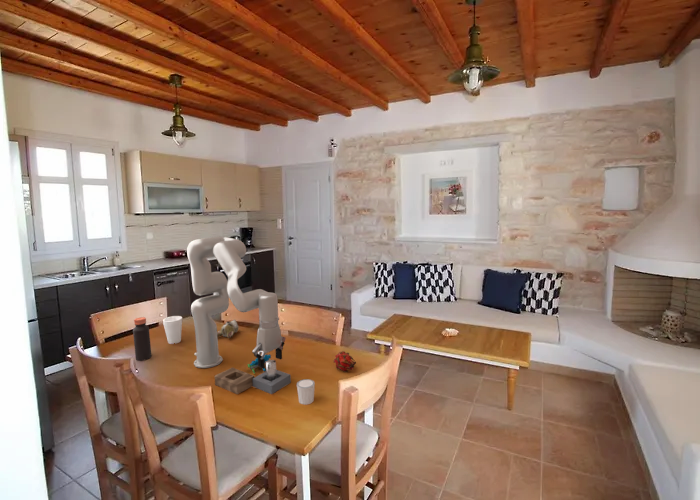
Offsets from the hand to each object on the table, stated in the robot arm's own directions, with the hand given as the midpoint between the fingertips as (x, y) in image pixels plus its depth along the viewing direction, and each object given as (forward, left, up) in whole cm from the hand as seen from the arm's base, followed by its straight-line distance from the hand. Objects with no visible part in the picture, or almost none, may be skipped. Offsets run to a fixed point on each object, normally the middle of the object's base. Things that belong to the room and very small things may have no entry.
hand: (270, 362), depth 150 cm
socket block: (0, 0, -9) cm, 9 cm away
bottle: (-73, -15, -10) cm, 75 cm away
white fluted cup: (+20, -1, -10) cm, 23 cm away
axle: (0, 0, -9) cm, 9 cm away
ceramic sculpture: (-61, +26, -10) cm, 68 cm away
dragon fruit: (+18, +28, -10) cm, 34 cm away
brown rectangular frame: (-13, -8, -9) cm, 18 cm away
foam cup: (-80, +5, -10) cm, 80 cm away
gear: (-15, +7, -10) cm, 19 cm away
